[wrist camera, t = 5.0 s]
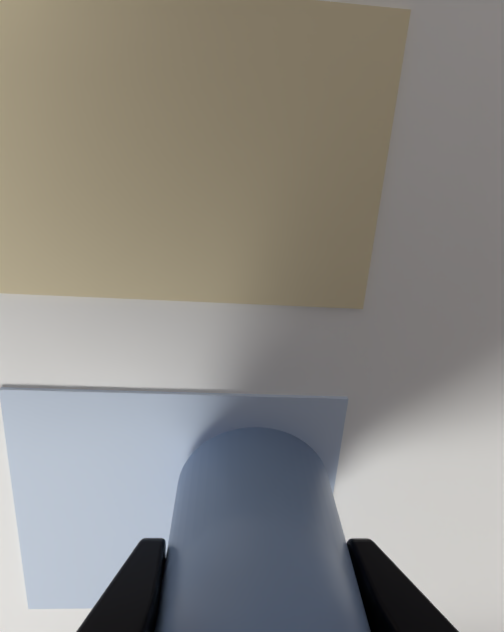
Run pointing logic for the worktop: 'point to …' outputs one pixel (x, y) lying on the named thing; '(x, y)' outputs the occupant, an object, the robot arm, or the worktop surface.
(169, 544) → the marker
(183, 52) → the sheet
